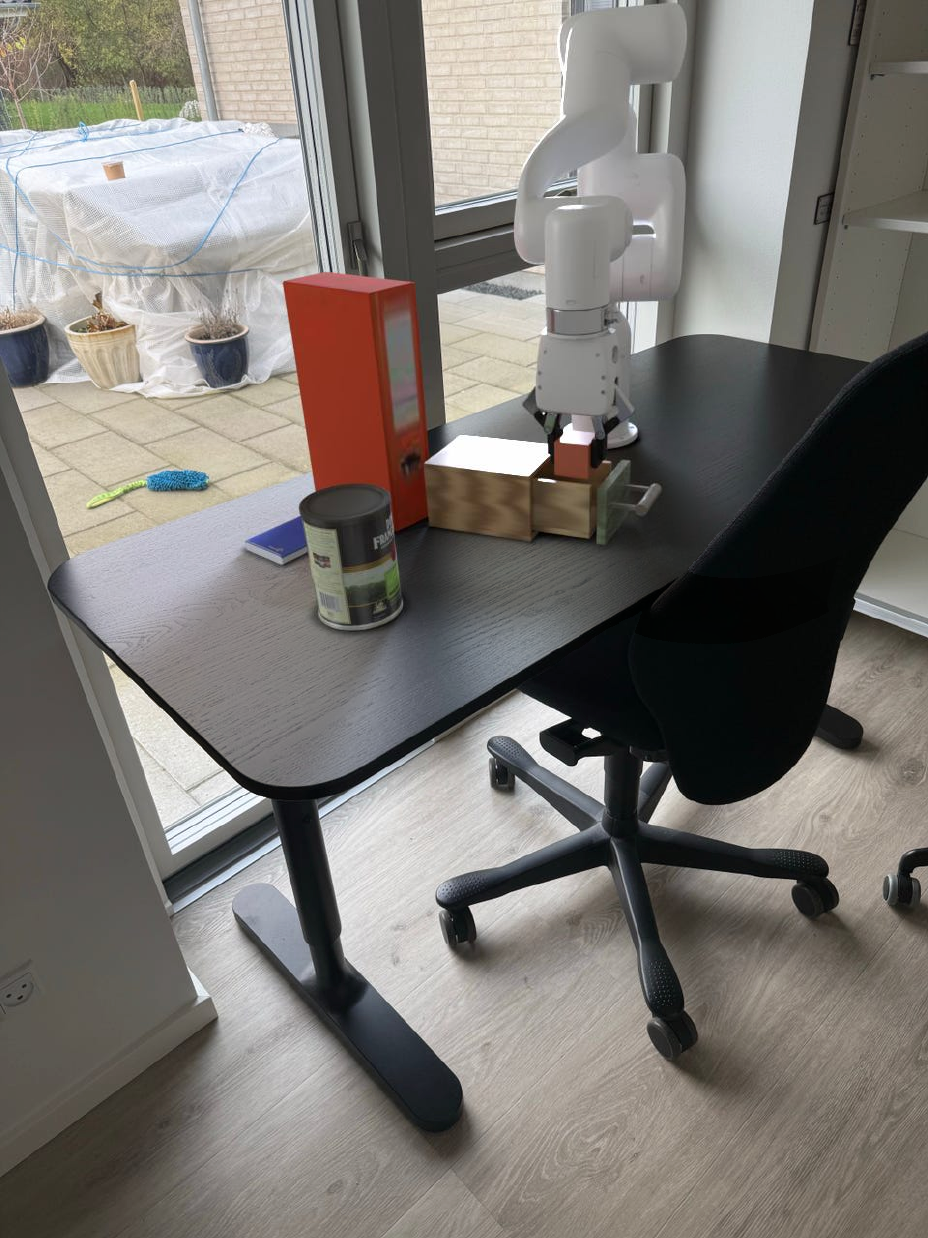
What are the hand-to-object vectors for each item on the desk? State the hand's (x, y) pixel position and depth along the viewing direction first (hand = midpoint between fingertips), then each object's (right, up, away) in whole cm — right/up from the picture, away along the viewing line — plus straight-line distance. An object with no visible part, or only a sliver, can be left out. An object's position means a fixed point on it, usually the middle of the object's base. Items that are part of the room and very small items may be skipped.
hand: (577, 460), depth 114 cm
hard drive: (-38, -10, +8) cm, 40 cm away
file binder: (-28, -4, +15) cm, 32 cm away
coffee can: (-27, -20, -9) cm, 35 cm away
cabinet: (-10, -6, +10) cm, 16 cm away
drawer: (+1, -8, +4) cm, 9 cm away
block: (0, -1, +1) cm, 1 cm away
